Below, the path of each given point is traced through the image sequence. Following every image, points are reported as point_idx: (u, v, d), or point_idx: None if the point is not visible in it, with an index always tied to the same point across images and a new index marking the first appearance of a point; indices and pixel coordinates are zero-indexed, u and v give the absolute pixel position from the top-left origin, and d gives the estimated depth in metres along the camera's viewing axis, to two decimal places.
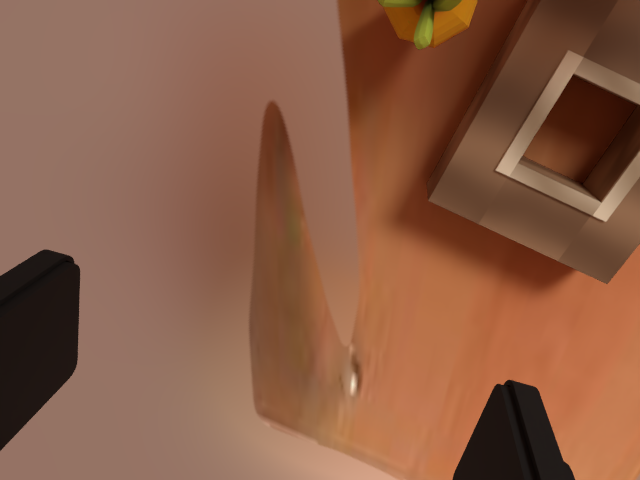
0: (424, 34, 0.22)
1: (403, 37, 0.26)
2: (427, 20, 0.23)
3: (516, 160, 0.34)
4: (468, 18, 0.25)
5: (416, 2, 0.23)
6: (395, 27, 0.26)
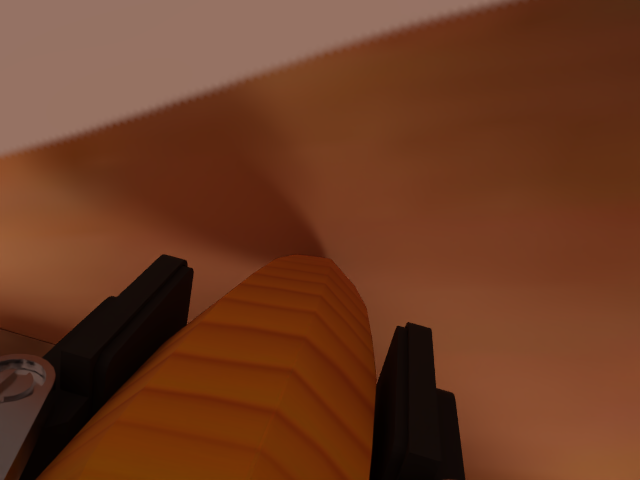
0: None
1: None
2: None
3: None
4: None
5: None
6: None
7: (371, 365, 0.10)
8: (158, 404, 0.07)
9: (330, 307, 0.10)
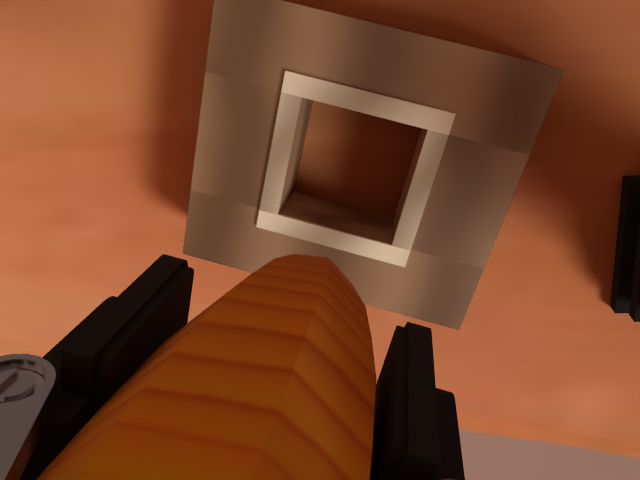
0: None
1: None
2: None
3: (304, 94, 0.24)
4: None
5: None
6: None
7: (371, 364, 0.10)
8: (159, 404, 0.07)
9: (329, 306, 0.10)
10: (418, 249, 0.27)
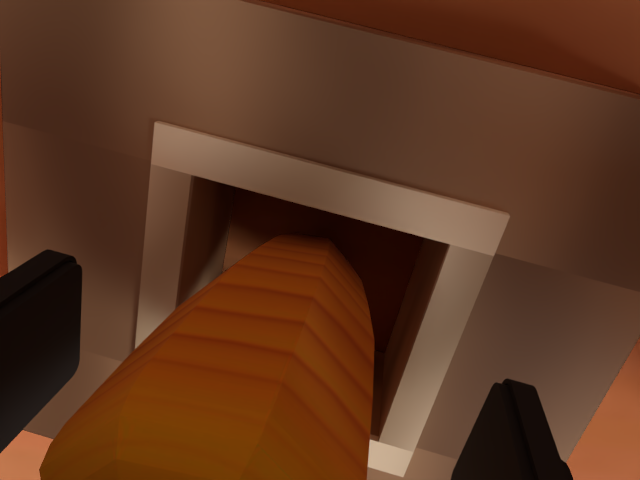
0: None
1: None
2: None
3: (197, 170, 0.12)
4: None
5: None
6: (63, 448, 0.07)
7: (369, 328, 0.11)
8: (188, 345, 0.08)
9: (332, 276, 0.11)
10: (428, 448, 0.14)
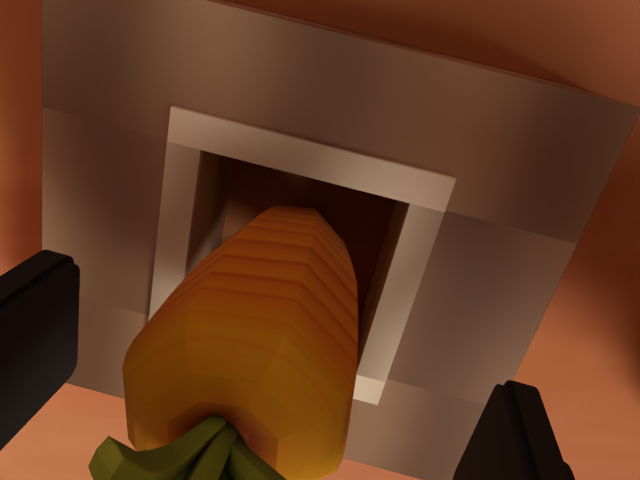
0: None
1: None
2: None
3: (205, 145, 0.15)
4: None
5: None
6: (140, 352, 0.10)
7: (352, 274, 0.14)
8: (224, 279, 0.10)
9: (322, 234, 0.14)
10: (398, 379, 0.17)
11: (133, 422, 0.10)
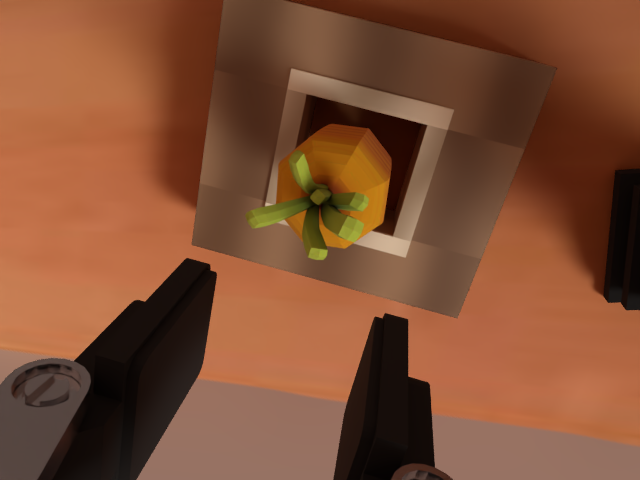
0: (260, 222, 0.17)
1: (278, 170, 0.21)
2: (283, 217, 0.18)
3: (309, 91, 0.26)
4: None
5: (306, 193, 0.19)
6: (287, 159, 0.21)
7: None
8: (326, 132, 0.21)
9: (372, 133, 0.25)
10: (418, 240, 0.28)
11: (282, 193, 0.21)
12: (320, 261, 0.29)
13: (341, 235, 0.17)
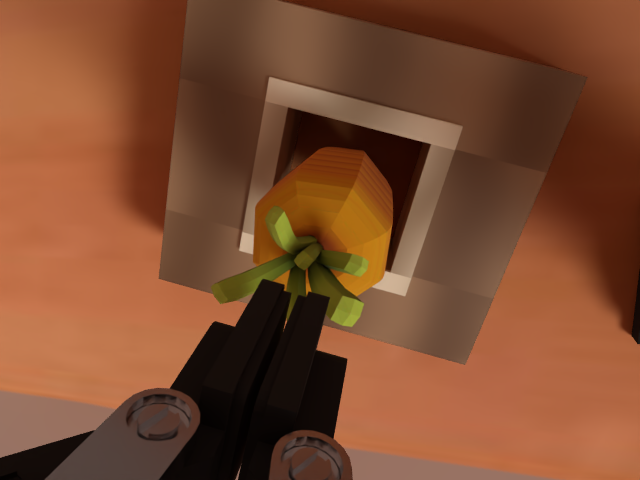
0: (229, 298, 0.14)
1: None
2: None
3: (291, 104, 0.22)
4: None
5: None
6: (266, 202, 0.17)
7: None
8: (313, 166, 0.17)
9: (368, 159, 0.21)
10: (420, 276, 0.24)
11: (260, 245, 0.17)
12: None
13: (334, 320, 0.13)
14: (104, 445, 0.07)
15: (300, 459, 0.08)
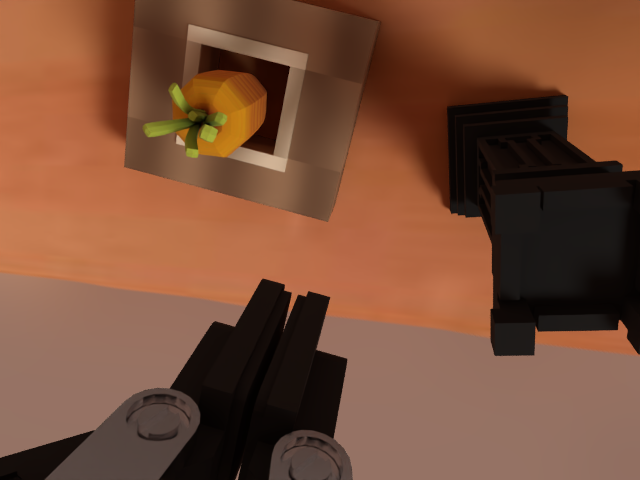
0: (151, 132, 0.26)
1: (172, 101, 0.30)
2: (169, 129, 0.27)
3: (203, 41, 0.34)
4: (198, 152, 0.30)
5: (186, 113, 0.28)
6: None
7: (263, 93, 0.33)
8: (206, 73, 0.30)
9: (251, 77, 0.34)
10: (293, 158, 0.37)
11: (175, 117, 0.29)
12: (222, 177, 0.38)
13: (202, 137, 0.26)
14: (104, 445, 0.07)
15: (300, 459, 0.08)
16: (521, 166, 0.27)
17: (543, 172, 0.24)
